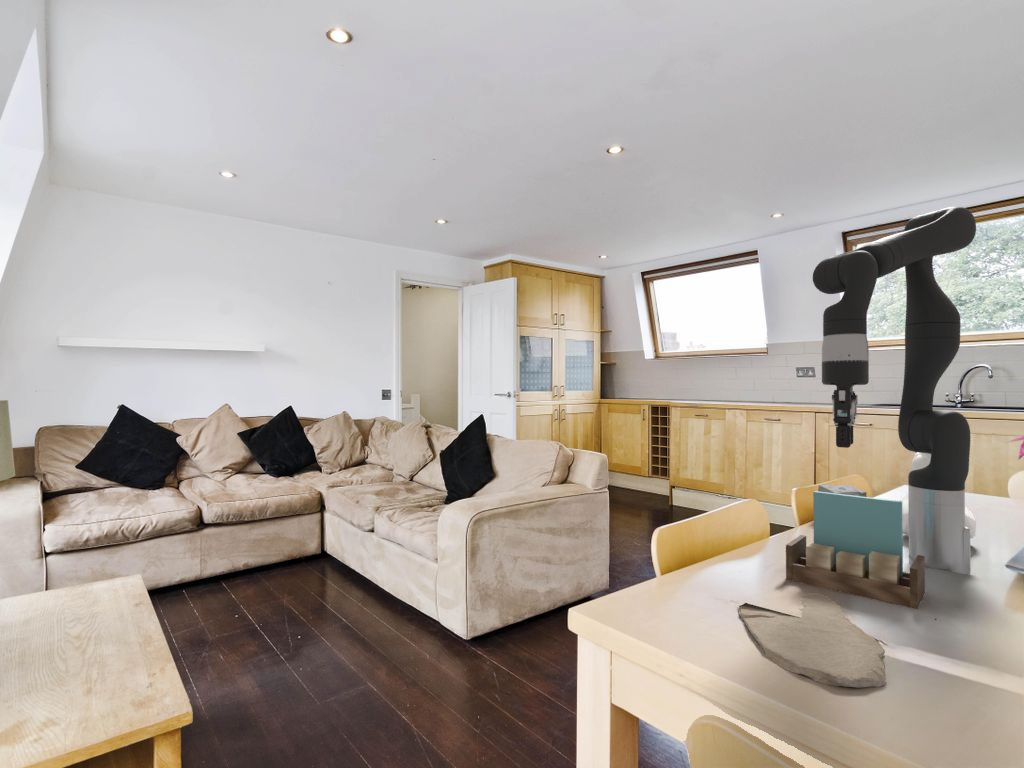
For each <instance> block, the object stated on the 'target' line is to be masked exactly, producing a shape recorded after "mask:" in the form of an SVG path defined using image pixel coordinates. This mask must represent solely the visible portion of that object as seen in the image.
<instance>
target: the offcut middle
mask: <svg viewBox="0 0 1024 768" xmlns="http://www.w3.org/2000/svg"><path fill="white" fill-rule="evenodd" d="M836 572H838V573H843V574H848V575H853V576H857V577H862V578H866V555H860V554H855V553H849V552H844V551H840V552H839V553H837V554H836Z"/></svg>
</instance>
